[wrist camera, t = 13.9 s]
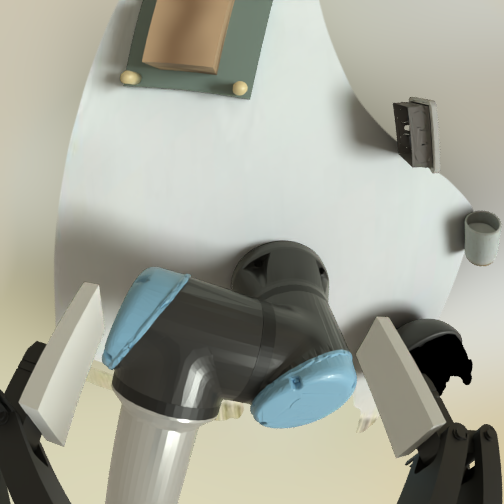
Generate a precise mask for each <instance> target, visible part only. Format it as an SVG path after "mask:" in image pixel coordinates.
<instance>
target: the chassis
mask: <svg viewBox="0 0 504 504" xmlns="http://www.w3.org/2000/svg"><path fill="white" fill-rule="evenodd" d="M156 2H157V0H143V2H142V5H141V9H140V12H139V16H138V20H137V24H136V28H135V32H134V36H133V40H132V45H131V49H130V54H129V59H128V64H127V69H126V71H124V72H123V73H122V74H121V76H120V80H121V82H122V83H124V86H132V87H153V88H167V89H178V90H188V91H197V92H205V93H212V94H219V95H226V96H232V97H238V98H244V99H250V97H251V92H252V88H253V83H254V79H255V74H256V70H257V65H258V61H259V56H260V52H261V48H262V43H263V39H264V35H265V31H266V26H267V22H268V18H269V14H270V10H271V6H272V2H273V0H235V1H234V5H233V9H232V13H231V17H230V21H229V25H228V29H227V33H226V37H225V41H224V45H223V50H222V54H221V58H220V63H219V68H218V72H217V75H212V74H204V73H195V72H186V71H174V70H160V69H158V68H156V67H153V66H151V65H148V64H146V63H143V62H142V59H143V54H144V50H145V45H146V41H147V36H148V32H149V28H150V24H151V20H152V17H153V13H154V9H155V6H156Z"/></svg>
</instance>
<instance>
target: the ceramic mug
mask: <svg viewBox="0 0 504 504" xmlns="http://www.w3.org/2000/svg"><path fill="white" fill-rule="evenodd" d="M500 233H501V221H500V219H499V218H498V217H497V216H496V215H495V214H493V213H490V212H487V211H475V212H472V213H470V214H468V215H467V216H466V218H465V254H466V257H467V259H468V260H469V261H470V262H471V263H472V264H474V265H477V266H487V265H489V264H491V263H492V262H493V261H494V260H495V258H496V255H497V252H498V245H499V239H500Z"/></svg>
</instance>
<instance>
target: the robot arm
mask: <svg viewBox="0 0 504 504" xmlns="http://www.w3.org/2000/svg"><path fill="white" fill-rule="evenodd" d="M328 296H329V278H328V274H327V271H326V268H325V266H324V264H323V262H322V261H321V259H320V257H319V256H318V255H317V254H316V253H315V252H314V251H313V250H311V249H310V248H308V247H307V246H305V245H302V244H299V243H296V242H290V241H277V242H271V243H267V244H264V245H261V246H259V247H257V248H255V249H254V250H252V251H251V252H249V253H248V254H247V255H245V256H244V257H243V258H242V260H241V261H240V262H239V263H238V265H237V267H236V268H235V271H234V273H233V277H232V290H229V289H226V288H223V287H220V286H217V285H214V284H210V283H207V282H204V281H201V280H198V279H195V278H192V277H191V275H190V274H185V275H184V274H180V273H177V272H173V271H170V270H167V269H163V268H160V267H151V268H148V269H146V270H144V271H143V272H142V273H141V274H140V275H139V276H138V277H137V278H136V280H135V281H134V283H133V285H132V286H131V288H130V290H129V292H128V294H127V295H126V297H125V299H124V301H123V303H122V305H121V307H120V309H119V312H118V314H117V316H116V318H115V321H114V323H113V325H112V328H111V330H110V333H109V335H108V338H107V341H106V344H105V350H104V353H103V355H102V362H103V364H104V365H106V366H107V367H108V368H109V369H111V370H113V369H114V370H115V371H114V376H113V380H112V389H113V391H114V392H115V394H116V395H117V397H118V398H119V400H120V401H121V403H122V406H121V411H120V415H119V420H118V425H117V431H116V436H115V441H114V447H113V453H112V459H111V465H110V471H109V478H108V486H107V494H106V502H105V504H177V503H178V499H179V496H180V493H181V489H182V485H183V482H184V478H185V475H186V471H187V467H188V464H189V461H190V457H191V453H192V450H193V446H194V443H195V439H196V435H197V432H198V429H199V427H200V426H201V425H204V424H206V423H208V422H211V421H213V420H214V419H216V417H217V415H218V412H219V409H220V405H221V402H222V400H223V399H224V400H232V401H237V402H242V403H247V404H250V405H251V408H250V409H251V410H250V411H251V413H252V414H253V416H254V419H255V420H256V421H257V422H259V423H260V424H261V425H263V426H266V427H270V428H291V427H297V426H302V425H305V424H309V423H312V422H314V421H316V420H319V419H321V418H324V417H325V416H327V415H329V414H331V413H332V412H334V411H335V410H337V409H338V408H340V407H341V406H342V405H343V404H344V403H345V402H346V401H347V400H348V399H349V398H350V396H351V395H352V394H353V392H354V390H355V387H356V383H357V376H356V372H355V369H354V366H353V362H352V355H351V353H350V352H349V350H348V347H347V345H346V343H345V340H344V338H343V336H342V333H341V331H340V329H339V327H338V324H337V322H336V320H335V317H334V315H333V313H332V311H331V309H330V306H329V304H328ZM104 332H105V324H104V317H103V311H102V304H101V296H100V288H99V285H98V284H93V283H88V282H84V283H83V284H82V286H81V288H80V289H79V291H78V292H77V294H76V295H75V297H74V299H73V300H72V302H71V303H70V305H69V307H68V308H67V310H66V312H65V313H64V315H63V317H62V318H61V320H60V322H59V324H58V325H57V327H56V329H55V331H54V332H53V334H52V336H51V338H50V339H49V341H48V343H47V344H44V343H41V342H38V341H36V342H35V343H34V344H33V345H32V346H30V347H29V348H28V350H27V351H26V353H25V355H24V356H23V359H22V361H21V362H20V364H19V366H18V369H16V371H15V373H14V375H13V377H12V379H11V381H10V383H9V385H8V387H7V389H6V391H5V393H3V392H2V391H1V390H0V504H10V499H9V495H8V490H9V492H10V495H11V497H12V499H13V502H14V504H71V503H70V501H69V499H68V497H67V496H66V494H65V492H64V490H63V489H62V486H61V485H60V483H59V481H58V479H57V477H56V475H55V473H54V471H53V469H52V467H51V465H50V462H49V460H48V458H47V456H46V454H45V451H44V449H43V447H42V445H41V443H40V438H41V435H43V436H44V438H45V439H46V440H47V441H50V442H52V443H55V444H58V445H61V446H64V445H65V442H66V438H67V435H68V431H69V428H70V425H71V422H72V418H73V415H74V412H75V409H76V406H77V403H78V400H79V397H80V394H81V392H82V389H83V386H84V383H85V380H86V378H87V375H88V372H89V370H90V367H91V364H92V362H93V359H94V357H95V354H96V352H97V349H98V347H99V344H100V342H101V339H102V337H103V335H104ZM356 357H357V359H358V361H359V364H360V366H361V368H362V371H363V373H364V376H365V378H366V381H367V383H368V386H369V388H370V391H371V393H372V396H373V398H374V401H375V403H376V406H377V408H378V411H379V414H380V416H381V419H382V421H383V424H384V427H385V429H386V432H387V435H388V438H389V440H390V443H391V446H392V449H393V451H394V454H395V457H396V458H399V457H402V456H406V455H409V454H410V453H412V452H413V451H414V450H415V449H417V450H418V454H416V455H415V456H413V457H412V458H411V459H409V460H408V461H407V462H406V464H405V465H408V464H410V463H411V462H412V461H413V463H412V464H411V465H410V467H411V469H410V472H409V475H408V477H407V480H406V483H405V485H404V488H403V491H402V493H401V495H400V498H399V500H398V502H397V504H502V476H501V463H500V454H499V445H498V438H497V433H496V431H495V430H494V428H493V427H492V426H490V425H488V424H484V425H483V426H481V427H480V428H479V429H478V430H477V431H474V430H467V429H466V428H465V426H464V425H462V424H460V423H454V422H453V421H452V419H451V417H450V415H449V413H448V411H447V409H446V407H445V405H444V403H443V401H442V399H441V398H440V395H439V394H438V392H437V391H436V388H435V386H434V384H433V382H432V381H431V380H430V379H429V378H428V377H427V376H426V375H425V374H421V372H420V370H419V369H418V367H417V365H416V363H415V361H414V360H413V358H412V356H411V354H410V353H409V351H408V349H407V347H406V346H405V344H404V342H403V341H402V339H401V337H400V335H399V334H398V332H397V330H396V329H395V327H394V325H393V324H392V322H391V320H390V319H389V317H376V319H375V321H374V322H373V324H372V326H371V328H370V330H369V332H368V334H367V335H366V337H365V339H364V341H363V342H362V344H361V346H360V348H359V349H358V351H357V353H356ZM474 460H475V466H474V467H472V468H471V469H470V467H469V466H470V465H469V464H470V463H472V462H473V461H474ZM7 488H8V490H7Z"/></svg>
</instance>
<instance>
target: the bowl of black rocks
mask: <svg viewBox="0 0 504 504" xmlns="http://www.w3.org/2000/svg"><path fill="white" fill-rule="evenodd" d="M397 332H398V334H399V335H400V337H401V339H402V341H403V342H404V344H405V346H406V347H407V349H408V351H409V353H410V354H411V356H412V358H413V360H414V361H415V363H416V365H417V367H418V369H419V370H420V372H421V374H425V375H426V376H427V377H428V378H429V379H430V380H431V381H432V382H433V384H434V386H435V388H436V391H437V392H438V394H439V395H440V396H441V395H442V393H443V390H444V389H445V388H446V382H448V381H449V379H450V376H459V377H461V379H462V380H463V383H464V384H465V385H469V384H470V383H471V379H472V376H471V371H472V361H471V359H470V360H469V359H468V356H467V353H466V351H465V349H464V347H463V345H462V338H461V335H460V334H459V333H458V331H457V330H456V329H454V328H453V327H452V326H450V325H449V324H447V323H445V322H442V321H439V320H435V319H419V320H415V321H412V322H409V323H407V324H405V325H403V326H402V327H400V328H399V329H397Z"/></svg>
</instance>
